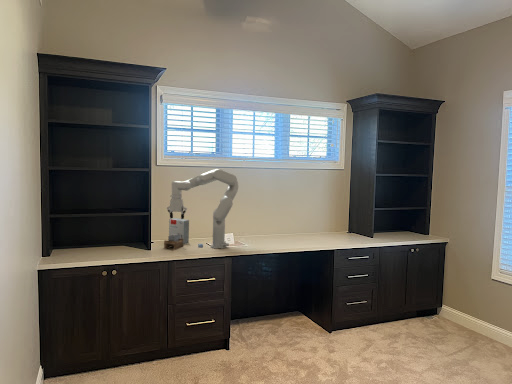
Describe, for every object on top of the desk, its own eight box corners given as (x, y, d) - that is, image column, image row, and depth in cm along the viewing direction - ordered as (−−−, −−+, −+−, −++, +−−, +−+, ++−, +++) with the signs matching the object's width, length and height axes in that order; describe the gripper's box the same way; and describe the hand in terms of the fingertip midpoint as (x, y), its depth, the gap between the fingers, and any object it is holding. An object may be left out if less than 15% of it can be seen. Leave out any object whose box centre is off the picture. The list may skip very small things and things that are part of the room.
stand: (183, 246, 306) (183, 238, 306) (175, 249, 295) (175, 241, 294) (172, 245, 309) (172, 237, 309) (164, 248, 298) (164, 240, 297)
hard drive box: (168, 242, 319) (168, 218, 318) (174, 241, 326) (174, 217, 325) (183, 245, 312) (183, 220, 311) (189, 243, 319) (189, 219, 318)
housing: (174, 242, 297) (174, 235, 297) (168, 241, 299) (168, 234, 298) (179, 240, 305) (179, 233, 304) (173, 240, 306) (173, 232, 306)
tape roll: (203, 246, 308) (203, 244, 307) (201, 247, 304) (201, 244, 304) (199, 246, 309) (199, 243, 308) (197, 247, 305) (197, 244, 305)
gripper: (164, 197, 299) (164, 218, 300) (184, 197, 294) (184, 219, 295) (169, 196, 306) (169, 217, 307) (188, 196, 301) (189, 218, 302)
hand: (176, 218), depth 301 cm, fingers open, 9 cm apart
